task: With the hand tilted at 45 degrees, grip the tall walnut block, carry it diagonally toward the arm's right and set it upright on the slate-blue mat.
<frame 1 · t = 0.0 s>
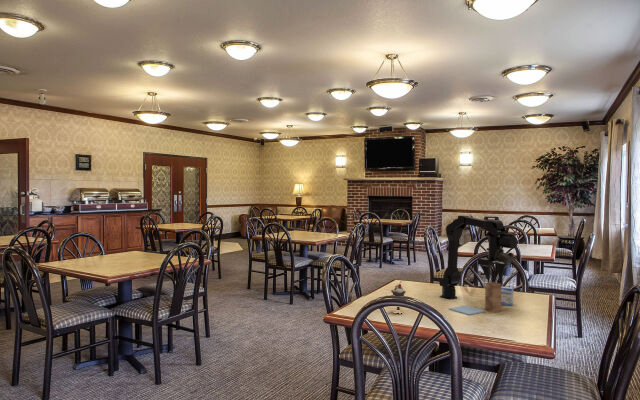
hand: (494, 278, 223), 15 cm above the table, tool pointing down, fingers open, 9 cm apart
medicine box: (504, 304, 233), on the table
slate mat: (467, 310, 219), on the table
walnut block: (492, 310, 220), on the table
sundae: (398, 313, 214), on the table
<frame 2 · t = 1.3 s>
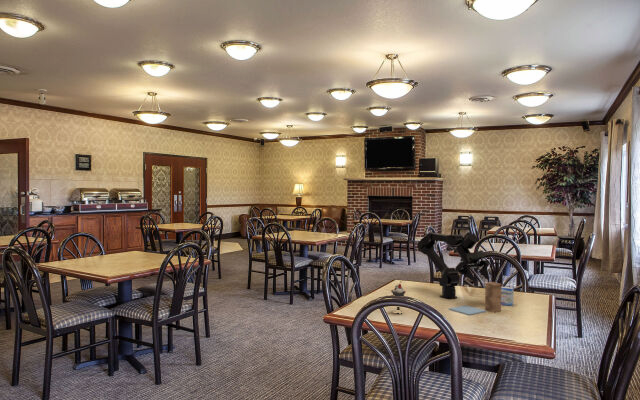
hand: (481, 280, 226), 13 cm above the table, tool tilted 45°, fingers open, 9 cm apart
nothing on the table moved.
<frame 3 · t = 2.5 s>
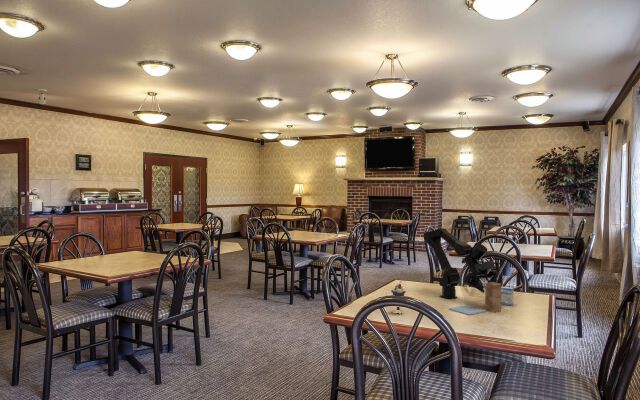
hand: (491, 291, 221), 9 cm above the table, tool tilted 45°, fingers open, 9 cm apart
nothing on the table moved.
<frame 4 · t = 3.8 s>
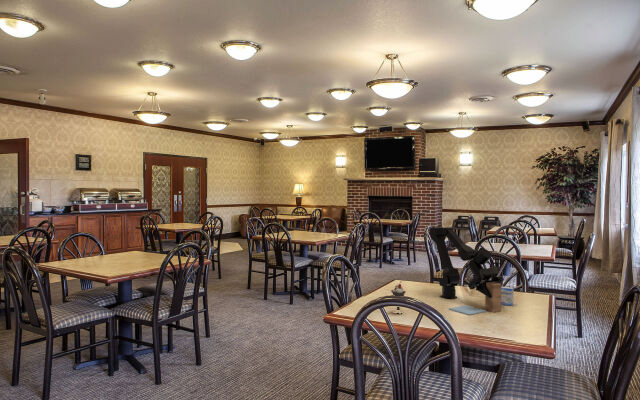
hand: (495, 297, 218), 7 cm above the table, tool tilted 45°, fingers closed on walnut block, 5 cm apart
walnut block: (492, 310, 220), on the table, touching gripper
everything else where it was.
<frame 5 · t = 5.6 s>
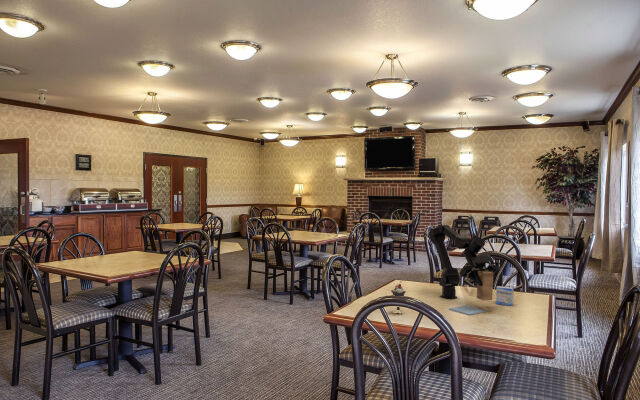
hand: (486, 285, 217), 12 cm above the table, tool tilted 45°, fingers closed on walnut block, 5 cm apart
walnut block: (484, 298, 219), point 6 cm above the table, touching gripper
everything else where it was.
when the fingers open (8 cm above the table, at t = 7.6 s): walnut block drops 1 cm, resting on slate mat.
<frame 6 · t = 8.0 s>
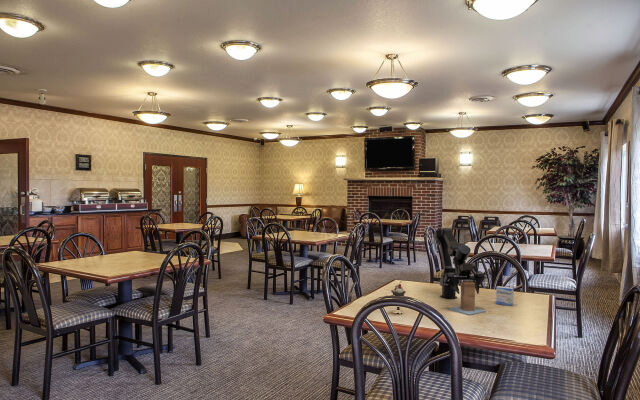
hand: (468, 293, 217), 9 cm above the table, tool tilted 45°, fingers open, 9 cm apart
walnut block: (467, 309, 219), point 1 cm above the table, touching slate mat
everything else where it was.
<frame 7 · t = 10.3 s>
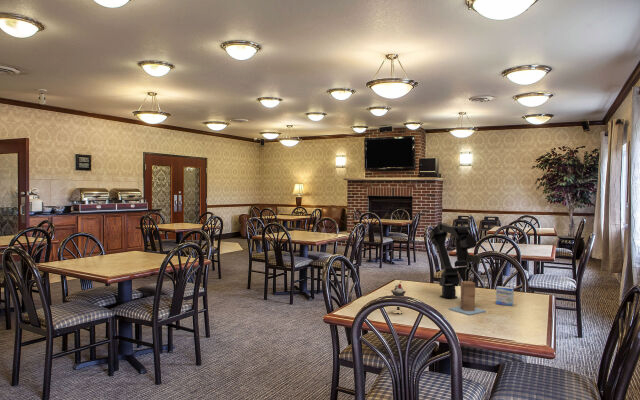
hand: (465, 282, 229), 12 cm above the table, tool tilted 15°, fingers open, 9 cm apart
nothing on the table moved.
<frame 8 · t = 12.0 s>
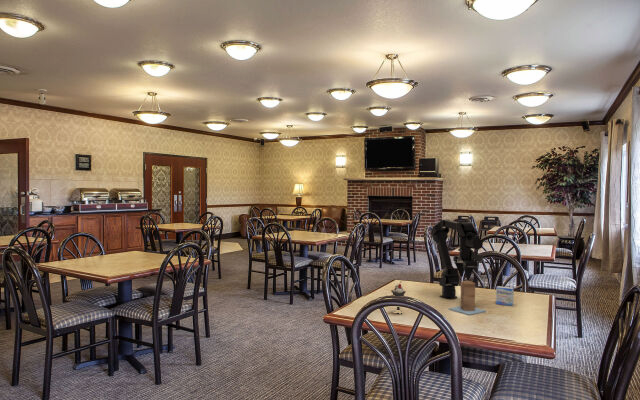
hand: (464, 278, 233), 13 cm above the table, tool pointing down, fingers open, 9 cm apart
nothing on the table moved.
at the end: walnut block inside the target area on the slate mat (0.1 cm from its centre), point 0.6 cm above the slate mat's base; walnut block tilted 0°; the gripper is holding nothing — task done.
